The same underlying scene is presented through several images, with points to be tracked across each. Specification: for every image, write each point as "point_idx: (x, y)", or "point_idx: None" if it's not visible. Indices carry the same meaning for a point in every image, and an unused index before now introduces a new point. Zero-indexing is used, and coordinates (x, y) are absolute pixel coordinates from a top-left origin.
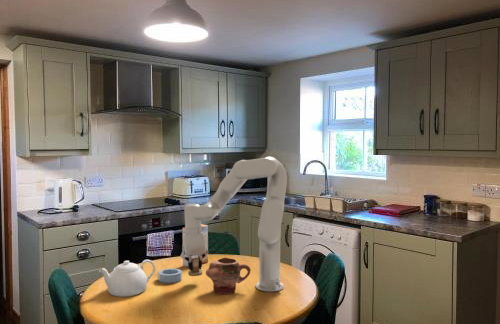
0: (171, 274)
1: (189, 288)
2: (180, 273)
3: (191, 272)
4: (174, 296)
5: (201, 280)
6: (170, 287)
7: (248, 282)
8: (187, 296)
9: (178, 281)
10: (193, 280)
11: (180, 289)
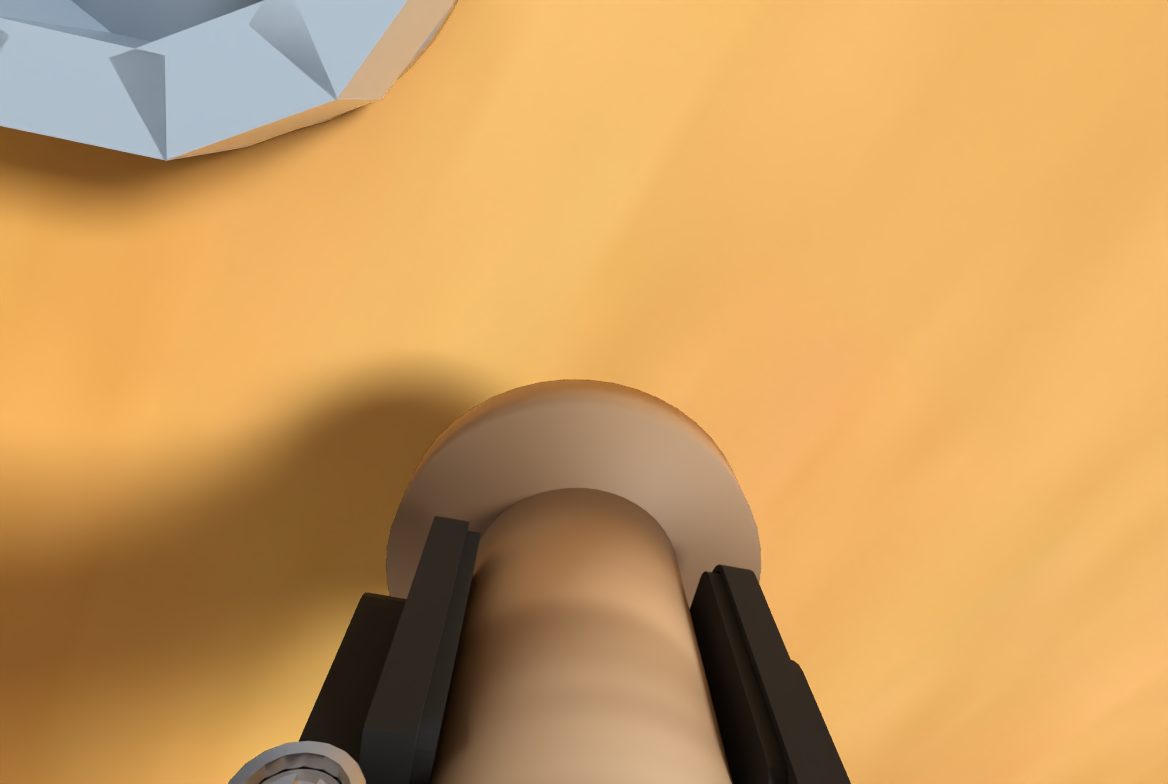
0: (12, 59)
1: (367, 550)
2: (340, 97)
3: None
4: (29, 692)
5: (768, 332)
6: (60, 324)
7: (1164, 765)
8: (210, 768)
9: (324, 119)
10: (648, 234)
11: (210, 511)
